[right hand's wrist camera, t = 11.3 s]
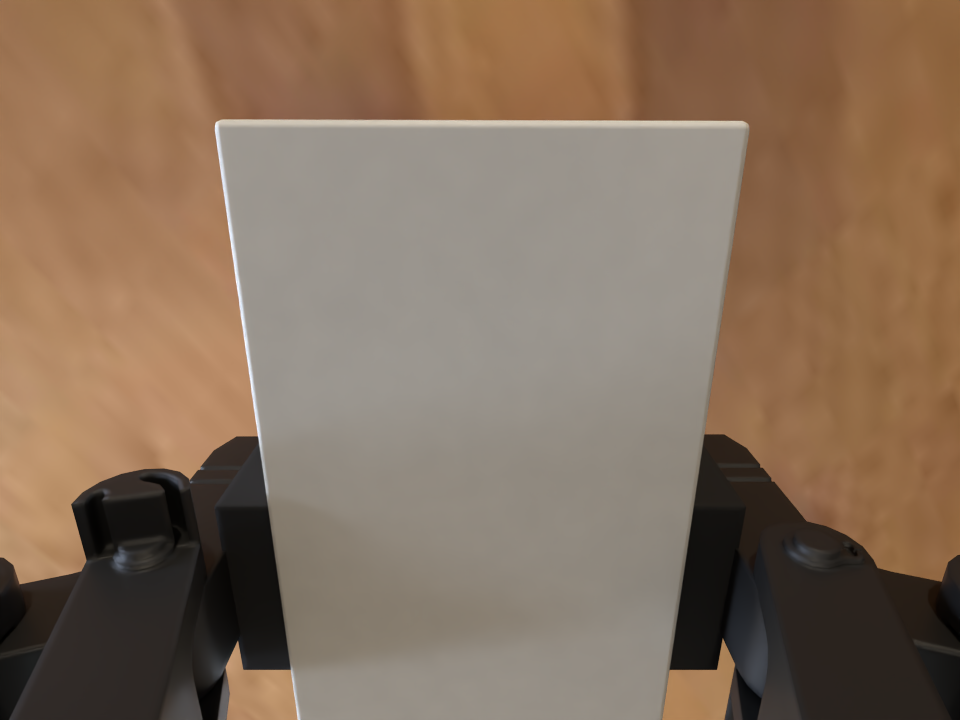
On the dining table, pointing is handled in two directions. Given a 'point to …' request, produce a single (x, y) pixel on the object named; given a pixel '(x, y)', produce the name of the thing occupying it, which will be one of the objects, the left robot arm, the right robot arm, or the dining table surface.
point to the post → (481, 401)
